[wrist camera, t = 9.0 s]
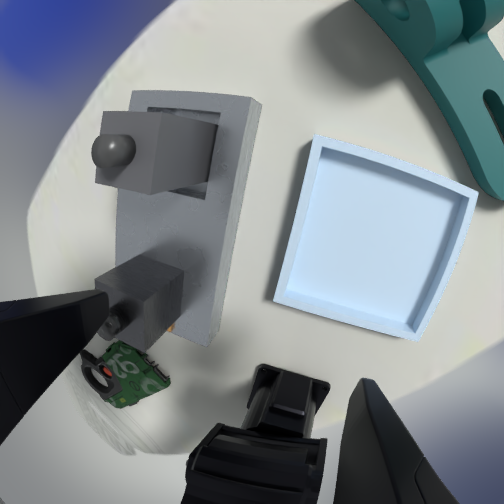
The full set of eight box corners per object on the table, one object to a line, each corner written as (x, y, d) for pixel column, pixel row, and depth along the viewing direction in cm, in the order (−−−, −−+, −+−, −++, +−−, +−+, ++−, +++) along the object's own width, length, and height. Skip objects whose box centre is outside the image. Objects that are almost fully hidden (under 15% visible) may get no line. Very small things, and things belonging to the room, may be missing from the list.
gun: (108, 318, 26) (172, 389, 27) (116, 311, 28) (178, 380, 28) (70, 362, 33) (116, 413, 34) (76, 357, 34) (121, 407, 35)
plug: (209, 181, 19) (129, 200, 12) (162, 171, 20) (74, 187, 12) (219, 125, 18) (141, 109, 10) (170, 119, 19) (81, 109, 11)
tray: (413, 329, 19) (418, 341, 17) (277, 290, 21) (272, 301, 20) (468, 189, 15) (478, 192, 13) (315, 136, 17) (314, 134, 15)
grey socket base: (218, 330, 24) (166, 403, 15) (132, 295, 25) (66, 345, 17) (262, 104, 17) (202, 65, 9) (151, 95, 19) (62, 78, 11)
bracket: (352, -1, 13) (353, -67, 6) (416, -24, 10) (437, -80, 3) (486, 214, 15) (548, 247, 8) (539, 177, 12) (602, 194, 5)
